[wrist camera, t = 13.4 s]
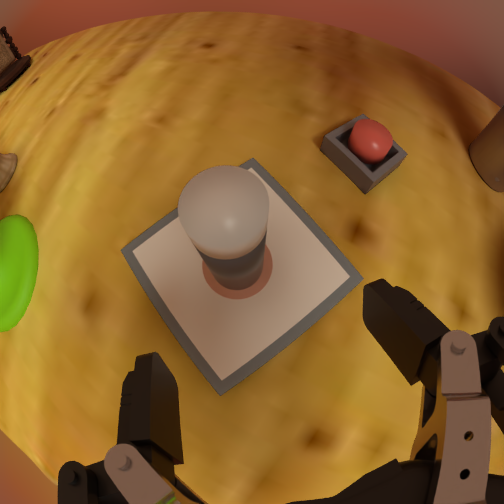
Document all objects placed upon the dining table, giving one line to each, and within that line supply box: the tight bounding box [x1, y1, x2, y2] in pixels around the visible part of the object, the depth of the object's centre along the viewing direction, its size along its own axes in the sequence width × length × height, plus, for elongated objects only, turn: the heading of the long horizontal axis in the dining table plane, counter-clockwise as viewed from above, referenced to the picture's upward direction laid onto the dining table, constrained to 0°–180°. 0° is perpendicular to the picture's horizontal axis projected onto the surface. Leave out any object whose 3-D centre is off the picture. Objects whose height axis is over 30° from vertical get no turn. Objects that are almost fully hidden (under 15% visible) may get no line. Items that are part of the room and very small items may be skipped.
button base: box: [320, 114, 407, 194], centre depth 27 cm, size 7×7×2 cm
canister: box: [178, 166, 269, 290], centre depth 18 cm, size 4×4×11 cm
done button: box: [348, 119, 393, 165], centre depth 25 cm, size 4×4×2 cm
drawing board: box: [121, 158, 364, 396], centre depth 24 cm, size 16×16×1 cm
